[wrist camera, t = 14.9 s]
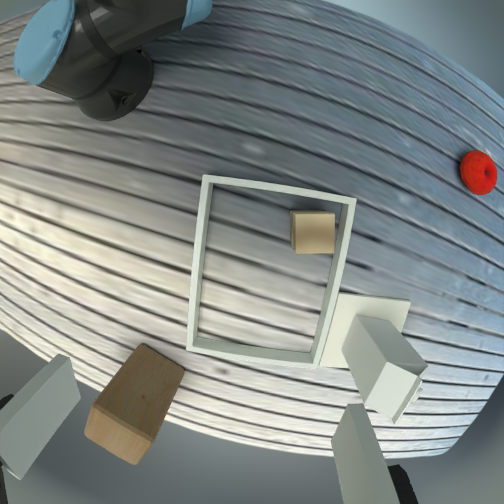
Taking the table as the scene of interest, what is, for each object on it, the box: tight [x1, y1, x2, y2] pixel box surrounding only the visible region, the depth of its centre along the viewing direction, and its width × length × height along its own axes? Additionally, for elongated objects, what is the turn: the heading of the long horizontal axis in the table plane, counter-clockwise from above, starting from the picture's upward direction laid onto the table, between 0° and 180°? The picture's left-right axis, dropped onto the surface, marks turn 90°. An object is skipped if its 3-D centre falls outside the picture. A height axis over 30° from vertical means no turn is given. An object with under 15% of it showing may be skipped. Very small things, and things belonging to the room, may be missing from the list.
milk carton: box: [341, 315, 428, 424], centre depth 36 cm, size 7×7×19 cm
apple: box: [460, 150, 497, 195], centre depth 36 cm, size 8×8×7 cm
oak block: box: [290, 210, 335, 254], centre depth 39 cm, size 5×5×8 cm
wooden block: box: [84, 344, 184, 465], centre depth 40 cm, size 10×10×20 cm
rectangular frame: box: [186, 174, 356, 369], centre depth 43 cm, size 28×22×4 cm
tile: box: [319, 292, 411, 368], centre depth 46 cm, size 14×14×1 cm
